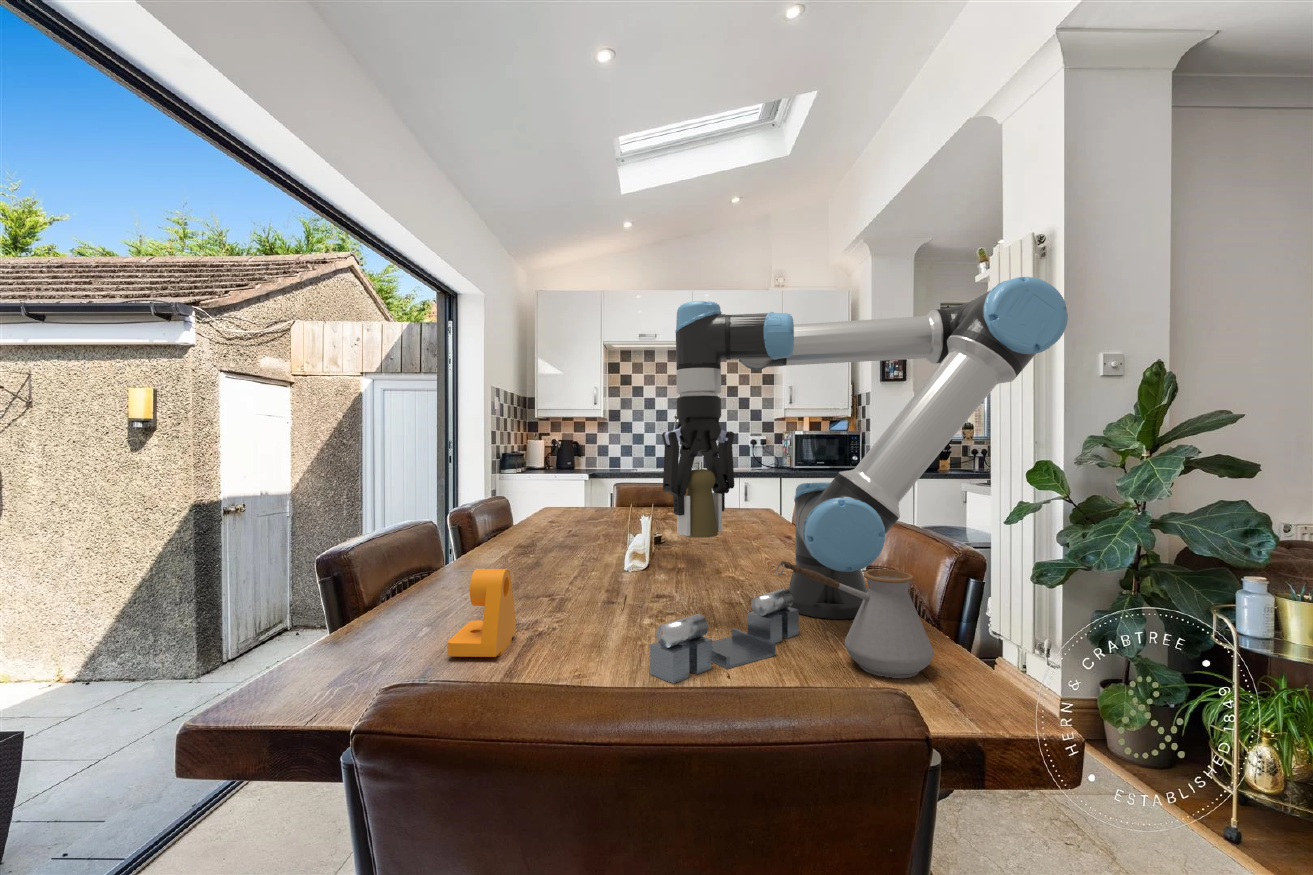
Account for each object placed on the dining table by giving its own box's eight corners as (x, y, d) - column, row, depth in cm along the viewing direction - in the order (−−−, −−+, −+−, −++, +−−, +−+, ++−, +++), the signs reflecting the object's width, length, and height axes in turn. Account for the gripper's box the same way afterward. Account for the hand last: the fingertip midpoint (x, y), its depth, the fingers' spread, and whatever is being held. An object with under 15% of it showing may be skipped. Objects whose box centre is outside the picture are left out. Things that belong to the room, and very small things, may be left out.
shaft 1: (688, 659, 87) (688, 610, 87) (712, 668, 83) (711, 617, 83) (650, 674, 82) (650, 622, 81) (673, 683, 78) (673, 629, 78)
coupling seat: (734, 638, 96) (734, 628, 96) (775, 655, 88) (775, 644, 88) (687, 649, 91) (687, 638, 91) (726, 668, 83) (726, 657, 83)
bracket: (470, 637, 97) (470, 561, 97) (515, 637, 97) (515, 562, 97) (445, 662, 86) (445, 577, 86) (496, 662, 86) (495, 577, 86)
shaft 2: (770, 645, 93) (770, 599, 92) (747, 638, 96) (747, 593, 96) (798, 634, 98) (798, 590, 98) (775, 627, 101) (775, 585, 101)
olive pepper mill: (674, 534, 102) (674, 469, 102) (697, 530, 107) (697, 468, 107) (702, 538, 98) (702, 470, 98) (725, 534, 103) (724, 469, 103)
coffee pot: (907, 651, 90) (907, 550, 90) (951, 682, 78) (951, 566, 78) (766, 656, 88) (765, 552, 88) (790, 689, 77) (789, 570, 77)
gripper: (727, 398, 111) (728, 525, 111) (639, 395, 100) (640, 535, 101) (756, 396, 105) (757, 530, 105) (664, 392, 94) (665, 541, 94)
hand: (699, 532), depth 103 cm, fingers closed on olive pepper mill, 6 cm apart
